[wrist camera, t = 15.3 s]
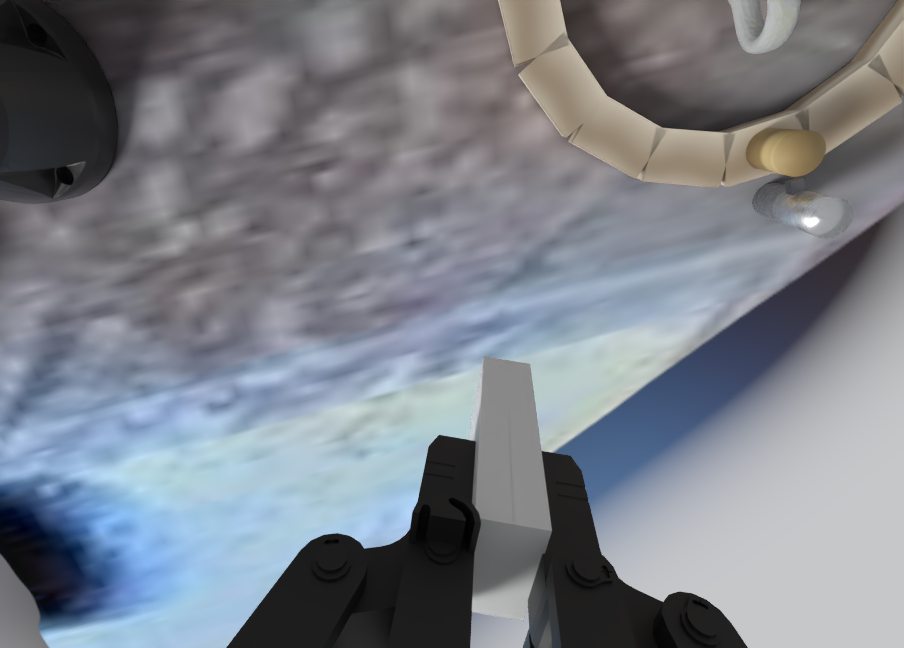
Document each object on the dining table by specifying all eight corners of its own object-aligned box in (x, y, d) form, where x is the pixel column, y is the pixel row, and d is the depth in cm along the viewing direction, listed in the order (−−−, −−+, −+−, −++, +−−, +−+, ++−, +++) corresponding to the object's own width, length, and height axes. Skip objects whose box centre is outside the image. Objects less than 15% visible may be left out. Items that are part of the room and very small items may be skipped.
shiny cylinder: (745, 212, 36) (799, 234, 29) (763, 169, 34) (823, 182, 28) (779, 217, 35) (841, 241, 29) (798, 174, 34) (867, 189, 28)
